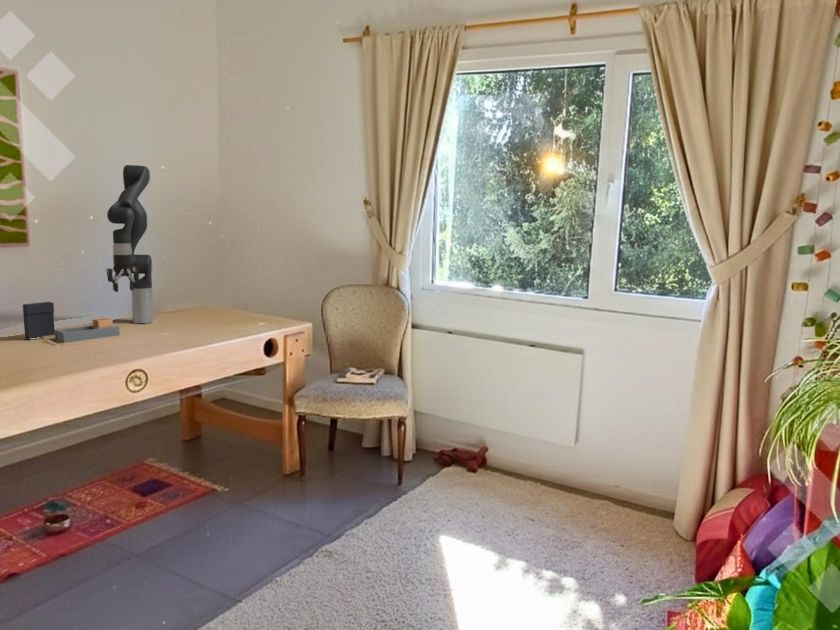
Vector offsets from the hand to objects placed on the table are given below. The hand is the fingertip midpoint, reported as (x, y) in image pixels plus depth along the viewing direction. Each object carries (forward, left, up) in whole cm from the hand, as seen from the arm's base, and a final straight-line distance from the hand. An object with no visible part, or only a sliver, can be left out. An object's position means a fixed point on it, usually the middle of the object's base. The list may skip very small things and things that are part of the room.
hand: (124, 290), depth 291 cm
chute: (0, -16, -20) cm, 25 cm away
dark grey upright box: (-15, -30, -20) cm, 39 cm away
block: (0, -10, -19) cm, 21 cm away
